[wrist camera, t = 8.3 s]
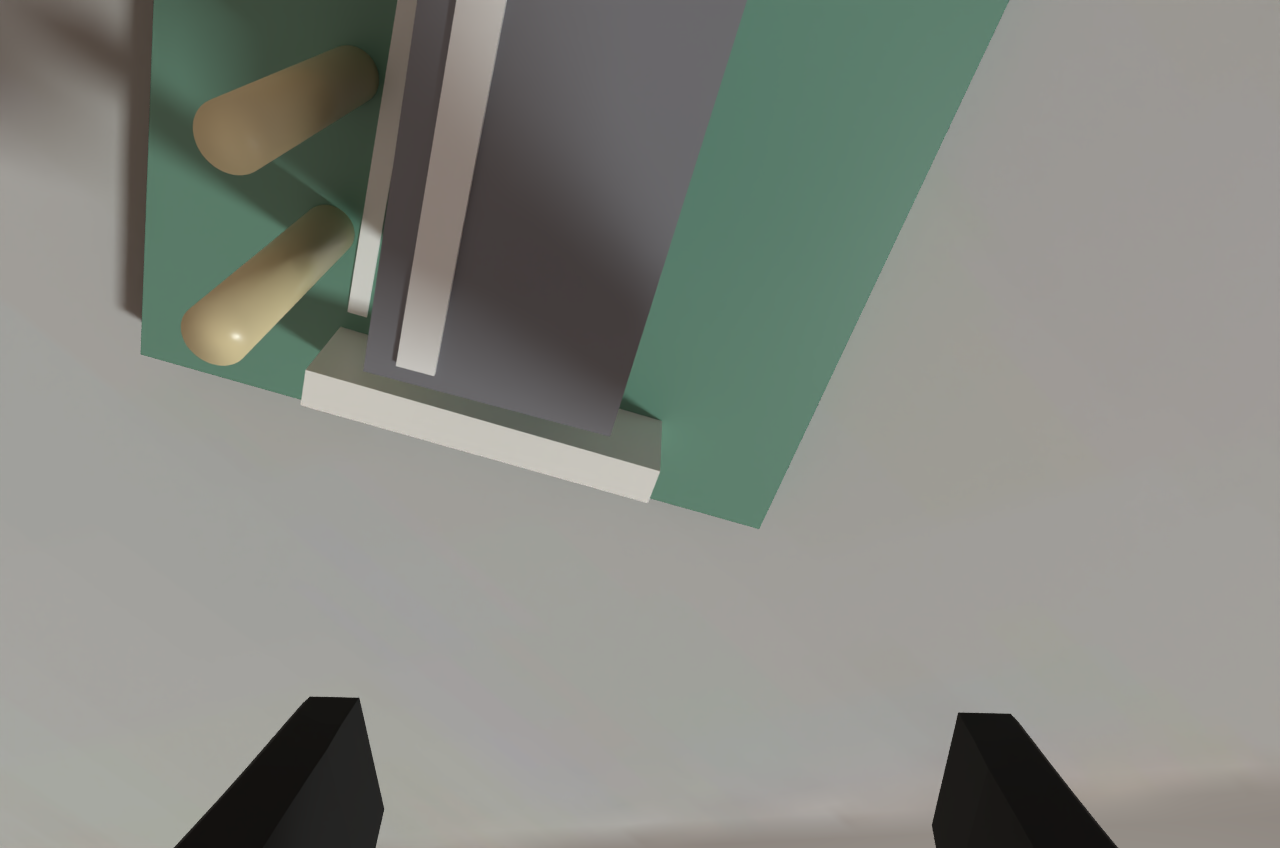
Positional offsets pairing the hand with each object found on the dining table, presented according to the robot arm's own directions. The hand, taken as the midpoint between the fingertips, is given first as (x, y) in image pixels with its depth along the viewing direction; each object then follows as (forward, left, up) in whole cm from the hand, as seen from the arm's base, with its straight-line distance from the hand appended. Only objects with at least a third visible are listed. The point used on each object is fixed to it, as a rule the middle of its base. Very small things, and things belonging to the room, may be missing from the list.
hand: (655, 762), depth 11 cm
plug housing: (+3, -5, -9) cm, 11 cm away
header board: (+4, -4, -10) cm, 12 cm away
